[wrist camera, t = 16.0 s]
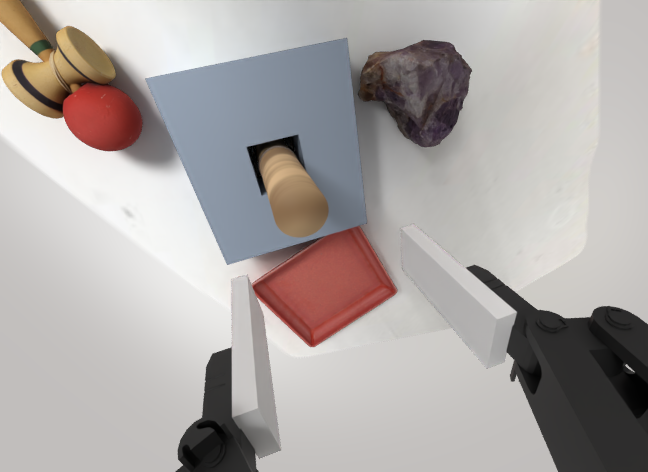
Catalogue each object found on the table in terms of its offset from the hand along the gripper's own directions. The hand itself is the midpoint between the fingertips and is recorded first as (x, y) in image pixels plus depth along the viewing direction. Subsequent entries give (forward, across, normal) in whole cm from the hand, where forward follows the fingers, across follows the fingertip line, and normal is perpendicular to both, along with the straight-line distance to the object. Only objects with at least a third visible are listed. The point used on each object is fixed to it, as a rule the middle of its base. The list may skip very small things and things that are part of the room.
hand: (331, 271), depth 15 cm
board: (+25, 0, 0) cm, 25 cm away
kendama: (+26, -17, +13) cm, 33 cm away
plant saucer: (+26, +3, -22) cm, 34 cm away
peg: (+25, 0, 0) cm, 25 cm away
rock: (+26, +18, +4) cm, 31 cm away
